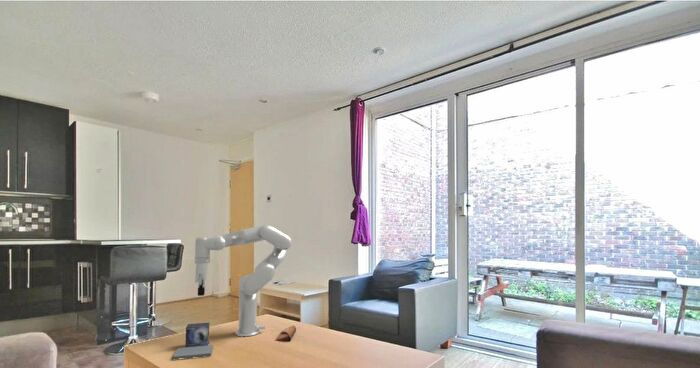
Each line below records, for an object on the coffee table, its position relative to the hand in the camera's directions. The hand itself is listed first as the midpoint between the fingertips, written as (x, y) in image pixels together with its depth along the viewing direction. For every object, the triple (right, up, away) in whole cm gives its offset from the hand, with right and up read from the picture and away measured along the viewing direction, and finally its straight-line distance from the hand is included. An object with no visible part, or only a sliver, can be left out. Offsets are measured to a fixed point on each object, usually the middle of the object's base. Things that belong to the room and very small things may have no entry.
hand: (201, 295), depth 198 cm
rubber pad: (+6, -21, -23) cm, 32 cm away
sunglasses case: (+45, -23, +2) cm, 51 cm away
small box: (+3, -22, -13) cm, 25 cm away
